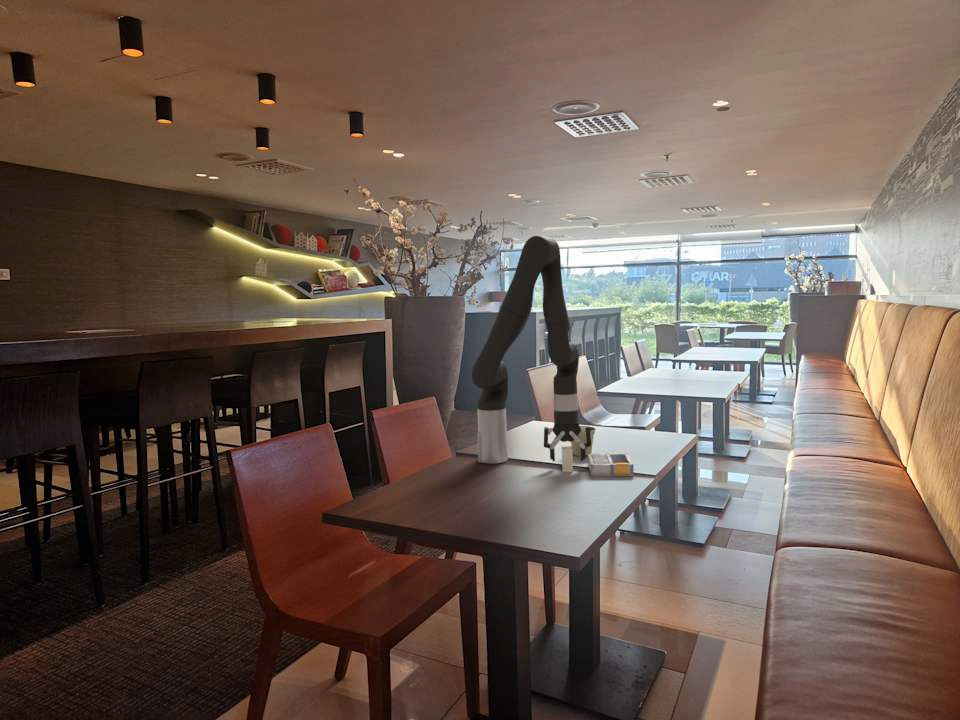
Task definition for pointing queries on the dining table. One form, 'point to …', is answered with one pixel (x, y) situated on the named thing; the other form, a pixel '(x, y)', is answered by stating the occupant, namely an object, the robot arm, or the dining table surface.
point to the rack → (610, 465)
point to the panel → (567, 457)
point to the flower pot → (582, 436)
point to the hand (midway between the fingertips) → (567, 460)
